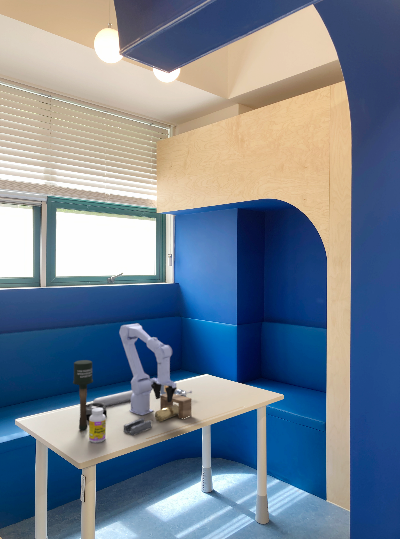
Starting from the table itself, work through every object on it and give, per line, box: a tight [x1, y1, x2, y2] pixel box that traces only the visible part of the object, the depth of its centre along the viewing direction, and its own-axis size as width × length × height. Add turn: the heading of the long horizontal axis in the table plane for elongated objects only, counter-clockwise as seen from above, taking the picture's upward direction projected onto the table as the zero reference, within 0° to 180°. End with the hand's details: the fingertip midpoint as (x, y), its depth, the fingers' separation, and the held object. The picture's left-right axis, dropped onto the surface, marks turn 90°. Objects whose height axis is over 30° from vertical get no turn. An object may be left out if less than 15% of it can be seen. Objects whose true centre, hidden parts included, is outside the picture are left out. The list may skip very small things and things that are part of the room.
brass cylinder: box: [154, 403, 179, 423], centre depth 200 cm, size 5×12×5 cm, turn 141°
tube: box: [92, 390, 133, 407], centre depth 221 cm, size 5×5×25 cm
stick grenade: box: [72, 359, 94, 432], centre depth 186 cm, size 8×9×30 cm
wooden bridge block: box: [159, 393, 192, 420], centre depth 205 cm, size 15×6×8 cm, turn 51°
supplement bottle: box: [88, 408, 107, 444], centre depth 175 cm, size 7×7×13 cm
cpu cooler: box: [86, 402, 108, 422], centre depth 201 cm, size 10×6×10 cm
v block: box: [123, 417, 152, 436], centre depth 186 cm, size 6×11×3 cm, turn 141°
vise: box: [160, 385, 193, 397], centre depth 230 cm, size 18×10×7 cm, turn 41°
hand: (163, 400), depth 198 cm, fingers open, 7 cm apart
